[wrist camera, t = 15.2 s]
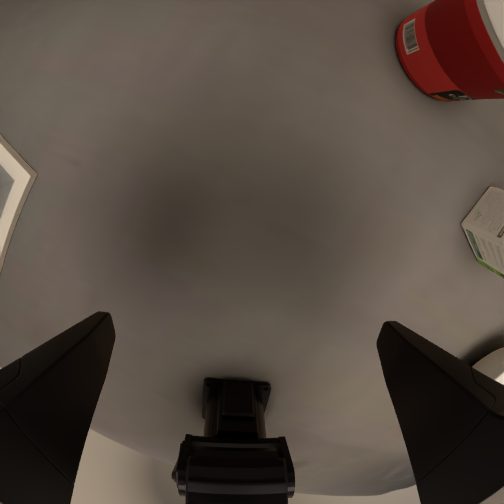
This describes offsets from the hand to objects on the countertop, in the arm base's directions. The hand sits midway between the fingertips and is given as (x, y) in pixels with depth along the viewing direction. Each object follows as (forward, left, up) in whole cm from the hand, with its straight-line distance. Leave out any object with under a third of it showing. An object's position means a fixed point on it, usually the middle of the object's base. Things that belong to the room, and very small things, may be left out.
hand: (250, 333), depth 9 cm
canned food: (+16, -13, -13) cm, 25 cm away
